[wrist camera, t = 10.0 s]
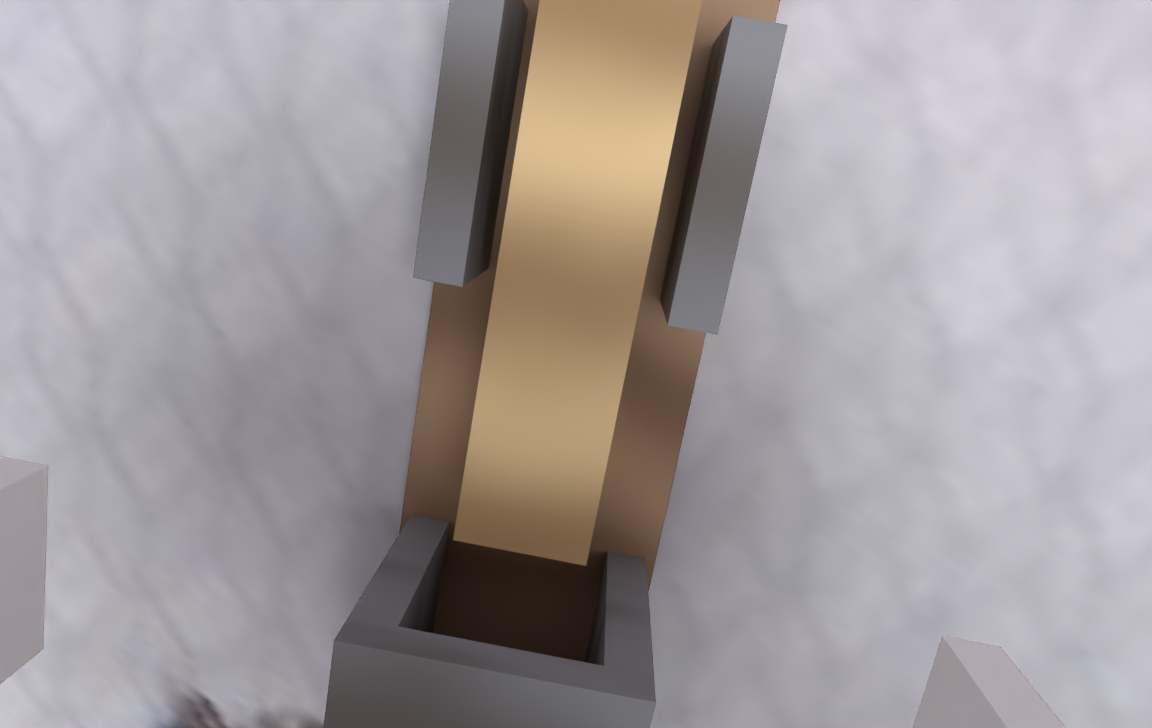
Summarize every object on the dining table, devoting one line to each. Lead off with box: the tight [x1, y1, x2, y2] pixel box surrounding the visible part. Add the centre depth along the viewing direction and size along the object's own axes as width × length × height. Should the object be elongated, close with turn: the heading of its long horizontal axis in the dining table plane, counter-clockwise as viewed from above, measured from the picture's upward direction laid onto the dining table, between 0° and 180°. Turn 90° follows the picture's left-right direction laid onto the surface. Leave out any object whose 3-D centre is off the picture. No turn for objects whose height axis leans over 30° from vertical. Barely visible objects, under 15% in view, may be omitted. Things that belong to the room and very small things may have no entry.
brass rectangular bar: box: [453, 0, 702, 566], centre depth 21 cm, size 14×4×4 cm, turn 170°
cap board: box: [324, 0, 787, 728], centre depth 20 cm, size 24×8×8 cm, turn 170°
